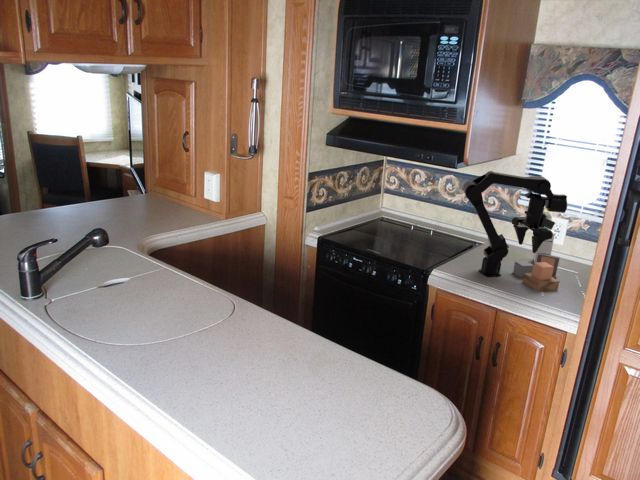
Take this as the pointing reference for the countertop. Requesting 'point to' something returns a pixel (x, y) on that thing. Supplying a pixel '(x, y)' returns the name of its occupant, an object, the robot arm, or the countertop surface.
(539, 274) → the terracotta cube
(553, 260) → the swatch sign
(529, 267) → the slate cube
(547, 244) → the syrup box
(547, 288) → the base block
